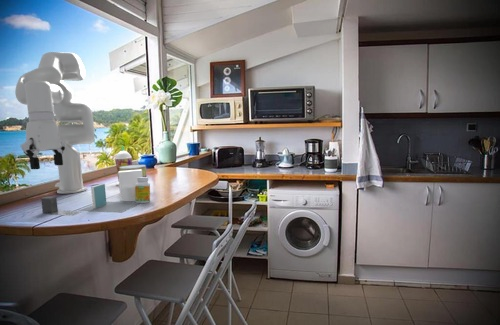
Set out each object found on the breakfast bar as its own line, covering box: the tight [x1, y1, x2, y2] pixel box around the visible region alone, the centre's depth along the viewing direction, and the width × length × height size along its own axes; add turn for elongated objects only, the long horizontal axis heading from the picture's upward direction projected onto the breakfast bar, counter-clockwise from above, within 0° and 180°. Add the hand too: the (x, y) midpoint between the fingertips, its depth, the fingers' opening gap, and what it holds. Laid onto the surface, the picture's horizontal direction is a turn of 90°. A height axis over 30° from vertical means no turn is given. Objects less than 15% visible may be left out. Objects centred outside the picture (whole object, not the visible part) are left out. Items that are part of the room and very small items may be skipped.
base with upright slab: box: [117, 169, 142, 202], centre depth 130 cm, size 9×9×12 cm
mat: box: [77, 201, 143, 214], centre depth 118 cm, size 18×13×1 cm
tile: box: [90, 183, 108, 208], centre depth 119 cm, size 1×6×8 cm, turn 166°
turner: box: [40, 196, 85, 217], centre depth 112 cm, size 14×5×6 cm, turn 76°
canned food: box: [119, 164, 148, 177], centre depth 143 cm, size 11×11×12 cm
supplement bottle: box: [134, 176, 151, 204], centre depth 124 cm, size 5×5×10 cm
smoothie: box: [114, 145, 133, 182], centre depth 166 cm, size 8×8×20 cm
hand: (47, 167), depth 112 cm, fingers open, 9 cm apart
